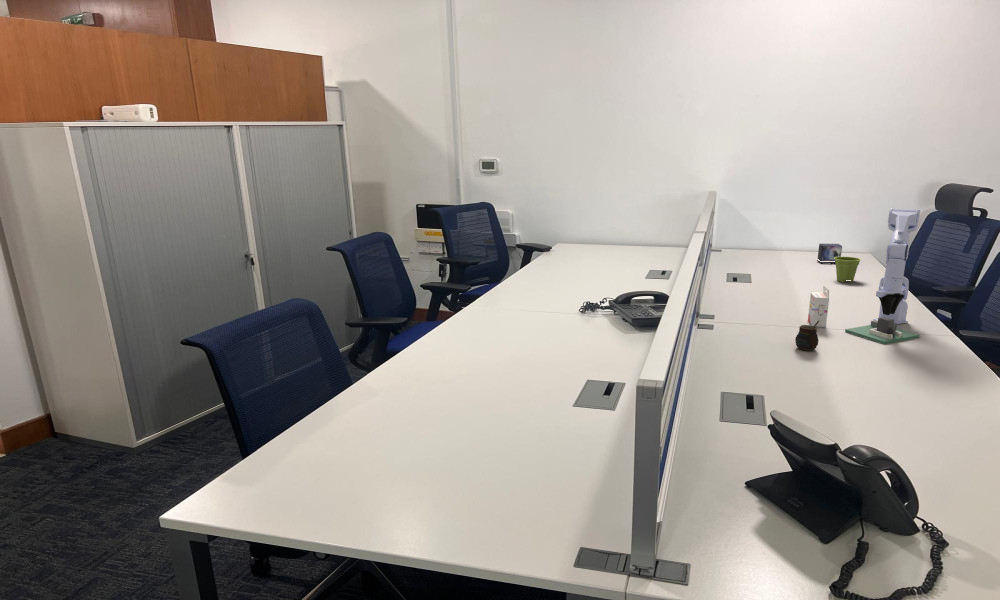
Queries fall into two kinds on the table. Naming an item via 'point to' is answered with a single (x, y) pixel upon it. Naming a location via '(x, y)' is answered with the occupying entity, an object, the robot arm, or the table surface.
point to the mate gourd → (807, 337)
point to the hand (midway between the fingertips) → (888, 314)
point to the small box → (829, 252)
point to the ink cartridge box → (818, 308)
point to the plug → (886, 326)
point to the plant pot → (846, 268)
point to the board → (874, 335)
